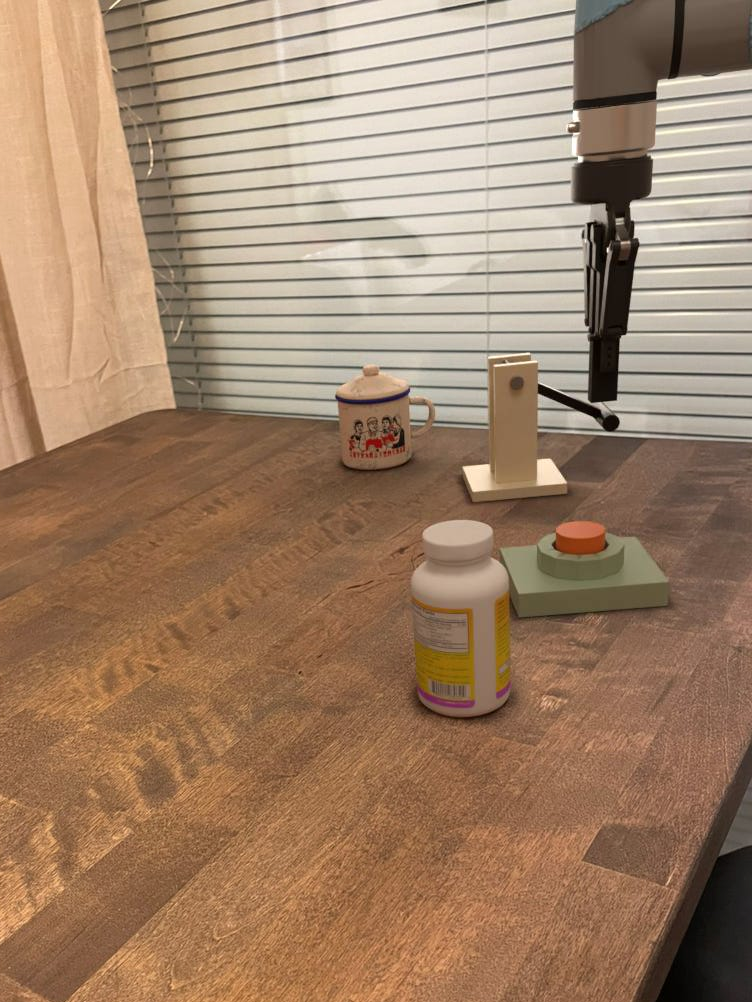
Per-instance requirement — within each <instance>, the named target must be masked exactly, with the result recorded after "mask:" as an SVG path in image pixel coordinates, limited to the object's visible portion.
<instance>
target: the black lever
mask: <svg viewBox="0 0 752 1002" xmlns="http://www.w3.org/2000/svg"><path fill="white" fill-rule="evenodd" d="M507 363H513V362H510V361H508V360H506V359H504V361H503V363H502V364H507ZM538 395H540V396H542V397H544V398H547V399H549V400H552V401H554V402H557V403H559V404H561V405H563V406H566V407H568V408H571V409H573V410H574V411H577V412H579V413H582V414H585V415H587V416H589V417H591V418H593V419H594V420H595V421H596V422H597V424H599V426H600V427H601V428H602V429H603V430H604V431H606V432H608V433H611V432H615V431H616V430H617V429H619V427H620V424H621V421H620V418H619V417H618V416H617V414H616V413H614V411H612V410H611V409H610V408H609V407H608V406H607V405H606V404H605V402H598V403H590V402H587V401H584V400H582V399H580V398H577V397H574V396H572V395H571V394H567V393H565V392H563V391H561V390H558V389H556V388H554V387H552V386H549V385H547V384H545V383H542V382H540V381H538Z"/></svg>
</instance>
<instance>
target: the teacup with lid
mask: <svg viewBox="0 0 752 1002" xmlns="http://www.w3.org/2000/svg"><path fill="white" fill-rule="evenodd" d="M410 393H411V387H410V384H409V383H408V382H407V381H406V380H404V379H401V378H397V377H393V376H391V375H390V374H388V373H386V372H381V371H380V366H379V365H378V364H367V365H364V366H363V368H362V373H361V374H359V375H357V376H355V377H354V378H353V379H352V380H350V381H349V382H346V383H343V384H342V385H340V386H339V387H338V388H337V389H336V391H335V395H334V398H335V400H336V401H337V412H338V422H339V423H338V425H339V436H340V448H341V449H340V450H341V459H342V460H341V461H342V463H343V464H344V466H346V467H348V468H350V469H355V470H361V471H376V470H377V471H378V470H385V469H390V468H391V469H392V468H395V467H398V466H401V465H403V464H405V463H407V462H408V461H409V460H410V459H411V458H412V439H416V438H420V437H422V436H424V435H426V434H427V433H428V432H429V431H430V429H431V428H432V427H433V424H434V423H435V422H434V421H435V419H436V408H435V405H434V403H433V402H432V401H431V400H430V399H428V397H425V396H423V395H422V396H420V395H416V396H415V395H414V396H410V395H409V394H410ZM412 404H423V405H425V406H427V407H428V417H427V420H426V421H425V424H423V426H422V427H421V428H419V429H416V430H412V431H411V417H410V416H411V415H410V405H412Z"/></svg>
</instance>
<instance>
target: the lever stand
mask: <svg viewBox="0 0 752 1002" xmlns="http://www.w3.org/2000/svg"><path fill="white" fill-rule="evenodd" d="M504 359H506V360H508V361H510V362H513V363H507V364H502V363H503V361H504ZM538 382H539V362H538V361H537V360H532V354H531V353H530V352H523V353H514V354H513V353H511V354H502V355H493V356H487V388H488V389H487V391H488V392H487V393H488V395H487V396H488V399H487V400H488V402H487V403H488V455H489V456H488V460H489V463H485V464H477V465H476V464H475V465H465V466H464V465H463V466H462V478H463V481H464V483H465V486H466V488H467V492H468V494H469V496H470V498H471V501H472V503H480V502H490V501H502V500H503V501H504V500H513V499H524V498H536V497H546V496H557V495H568V482H567V480H566V479H565V478H564V476H563V474H562V473H561V472H560V470H559V468H558V467H557V466H556V464H555V462H554V461H553V460H552V458H540V459H538V436H539V435H538V431H539V429H538V428H539V427H538V426H539V425H538V421H539V420H538V418H539V415H538V412H539V409H538V408H539V404H538V403H539V394H538Z"/></svg>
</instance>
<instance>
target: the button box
mask: <svg viewBox="0 0 752 1002" xmlns="http://www.w3.org/2000/svg"><path fill="white" fill-rule="evenodd" d="M499 562H500V563H501V564H502V565H503V566H504V567H505V569H506V571H507V573H508V577H509V598H510V599H511V602H512V604H513V607H514V610H515V612H516V614H517V617H518V618H519V619H520V618H532V617H544V616H557V615H559V616H560V615H570V614H583V613H595V612H607V611H608V612H609V611H620V610H621V611H622V610H632V609H633V610H634V609H646V608H658V607H667V606H669V596H670V595H669V593H670V580H669V579H668V578H667V576H666V574H664V572H663V571H662V569H660V567H659V565H658V564H657V563H656V561H655V560H654V559H653V558H652V557H651V555H650V554H649V552H648V551H647V550H646V548H644V546H643V544H642V543H641V541H639V539H638V538H637V537H636V536H626V537H625V536H624V537H620V536H617V535H615V534H612V533H609V532H607V531H606V533H605V550H604V551H601V552H599V553H596V554H587V555H573V554H564V553H562V552H559V551H557V550H556V532H553V533H550V534H547V535H544V536H543V537H542V538H541V539H540V540H539V541H538V542H537V543H536V544H532V545H522V546H521V545H520V546H510V547H500V548H499Z"/></svg>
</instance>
